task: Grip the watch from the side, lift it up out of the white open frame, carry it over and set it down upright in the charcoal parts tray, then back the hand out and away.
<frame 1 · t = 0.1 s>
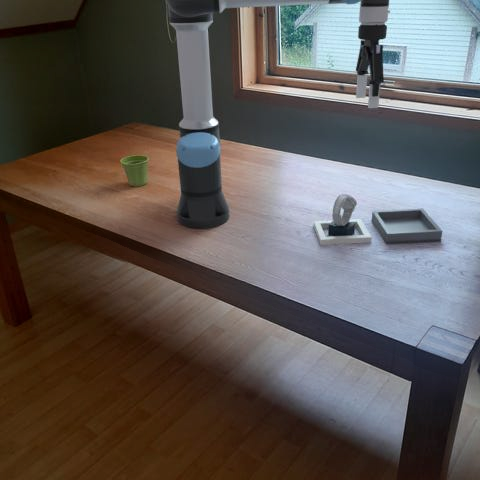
hand: (366, 102, 150), 28 cm above the table, tool pointing down, fingers open, 13 cm apart
white open frame: (341, 234, 137), on the table
parts tray: (404, 230, 138), on the table
watch: (341, 234, 137), resting in white open frame
plant pot: (138, 184, 176), on the table
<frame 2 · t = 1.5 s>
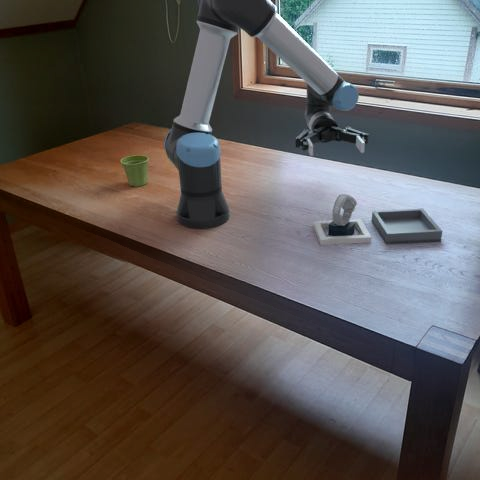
hand: (337, 149, 136), 20 cm above the table, tool horizontal, fingers open, 13 cm apart
nothing on the table moved.
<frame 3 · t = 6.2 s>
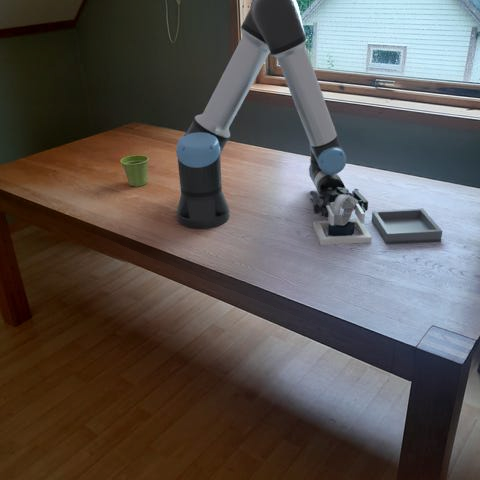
hand: (347, 219, 130), 7 cm above the table, tool horizontal, fingers closed on watch, 7 cm apart
watch: (341, 234, 137), resting in white open frame, touching gripper
everything else where it was.
when the fingers open (8 cm above the table, at t = 11.5 s): watch drops 1 cm, resting on parts tray.
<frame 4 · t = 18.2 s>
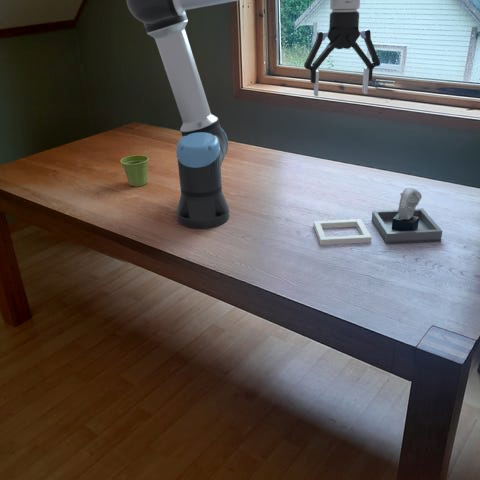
hand: (340, 94, 143), 32 cm above the table, tool pointing down, fingers open, 13 cm apart
watch: (404, 228, 137), point 1 cm above the table, touching parts tray
at the end: watch inside the target area on the parts tray (0.1 cm from its centre), point 0.6 cm above the parts tray's base; watch tilted 0°; the gripper is holding nothing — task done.
